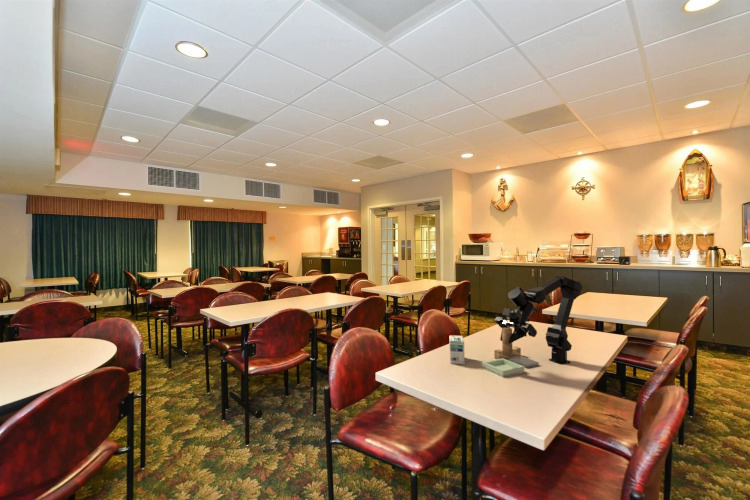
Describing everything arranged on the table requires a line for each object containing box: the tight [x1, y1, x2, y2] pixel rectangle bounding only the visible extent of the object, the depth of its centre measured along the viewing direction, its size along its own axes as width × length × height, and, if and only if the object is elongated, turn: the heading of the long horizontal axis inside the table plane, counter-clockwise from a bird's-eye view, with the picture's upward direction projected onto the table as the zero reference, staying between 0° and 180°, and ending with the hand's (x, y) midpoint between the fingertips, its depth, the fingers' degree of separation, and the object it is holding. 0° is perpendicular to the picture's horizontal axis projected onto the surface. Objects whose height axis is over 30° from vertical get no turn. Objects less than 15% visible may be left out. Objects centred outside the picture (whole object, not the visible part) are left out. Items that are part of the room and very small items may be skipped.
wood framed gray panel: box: [505, 355, 540, 369], centre depth 152 cm, size 8×12×2 cm, turn 23°
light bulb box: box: [448, 334, 466, 365], centre depth 156 cm, size 11×7×11 cm, turn 168°
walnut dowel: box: [501, 327, 513, 358], centre depth 140 cm, size 4×4×12 cm
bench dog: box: [493, 346, 522, 360], centre depth 159 cm, size 14×3×4 cm, turn 114°
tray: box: [482, 358, 525, 378], centre depth 143 cm, size 12×12×2 cm
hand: (504, 341), depth 139 cm, fingers closed on walnut dowel, 4 cm apart
